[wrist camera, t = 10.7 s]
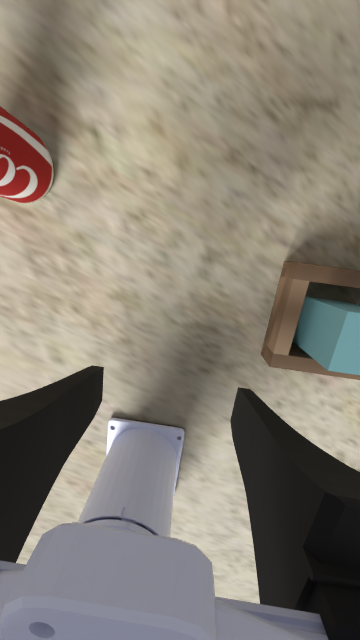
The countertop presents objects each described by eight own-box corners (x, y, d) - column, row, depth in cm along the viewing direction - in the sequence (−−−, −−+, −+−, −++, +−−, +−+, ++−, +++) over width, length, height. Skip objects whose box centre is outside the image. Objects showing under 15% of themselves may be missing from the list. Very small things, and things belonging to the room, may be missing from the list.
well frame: (351, 367, 21) (372, 381, 18) (260, 354, 21) (269, 366, 19) (386, 275, 19) (415, 278, 16) (284, 261, 19) (297, 262, 16)
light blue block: (334, 345, 20) (389, 379, 15) (289, 338, 20) (327, 370, 15) (348, 302, 19) (414, 320, 14) (302, 295, 19) (347, 311, 14)
